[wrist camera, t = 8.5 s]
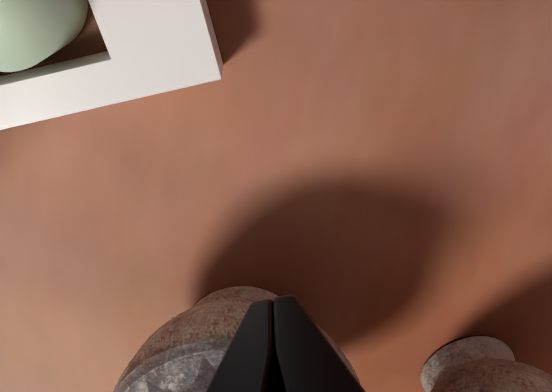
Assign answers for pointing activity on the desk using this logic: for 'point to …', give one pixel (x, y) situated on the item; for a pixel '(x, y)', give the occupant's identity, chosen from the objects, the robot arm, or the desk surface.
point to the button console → (120, 61)
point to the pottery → (235, 301)
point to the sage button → (37, 30)
